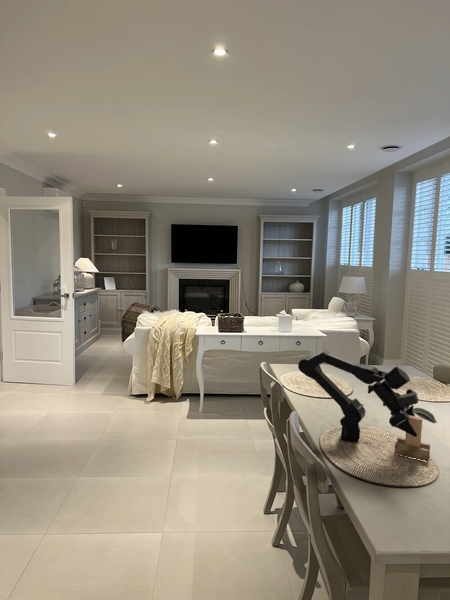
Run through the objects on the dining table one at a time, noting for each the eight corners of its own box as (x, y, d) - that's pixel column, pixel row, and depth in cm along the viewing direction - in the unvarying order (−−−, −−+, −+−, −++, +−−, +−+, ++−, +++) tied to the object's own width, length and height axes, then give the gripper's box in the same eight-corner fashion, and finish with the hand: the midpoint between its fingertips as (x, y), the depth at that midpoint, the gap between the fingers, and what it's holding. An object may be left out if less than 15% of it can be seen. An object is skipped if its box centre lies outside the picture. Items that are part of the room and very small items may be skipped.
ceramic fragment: (411, 411, 195) (412, 403, 195) (420, 410, 197) (421, 403, 196) (433, 424, 182) (434, 415, 182) (443, 423, 183) (443, 414, 183)
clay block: (404, 451, 152) (407, 417, 151) (405, 448, 154) (407, 414, 153) (419, 454, 150) (422, 420, 148) (420, 452, 152) (422, 417, 150)
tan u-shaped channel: (394, 454, 151) (394, 444, 151) (397, 446, 158) (398, 436, 158) (427, 462, 146) (428, 452, 145) (429, 453, 153) (430, 443, 152)
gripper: (401, 390, 143) (434, 429, 139) (408, 377, 159) (438, 411, 155) (376, 408, 148) (407, 445, 144) (385, 393, 164) (414, 427, 160)
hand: (417, 431), depth 150 cm, fingers open, 9 cm apart
